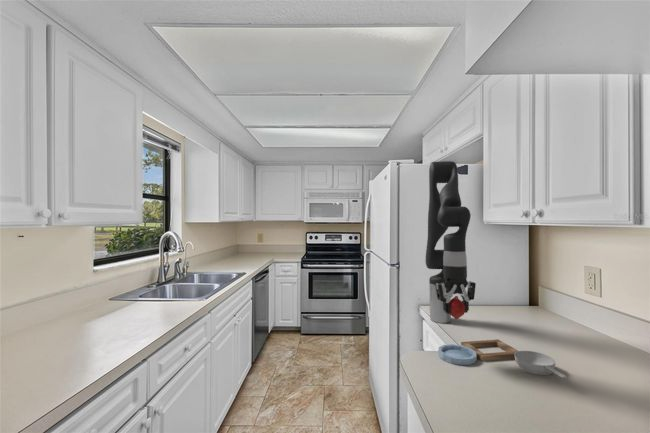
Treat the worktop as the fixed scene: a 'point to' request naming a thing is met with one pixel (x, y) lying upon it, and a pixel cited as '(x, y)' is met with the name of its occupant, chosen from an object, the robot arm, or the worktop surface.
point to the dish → (457, 354)
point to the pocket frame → (491, 356)
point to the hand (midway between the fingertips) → (456, 312)
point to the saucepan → (536, 363)
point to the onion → (456, 307)
